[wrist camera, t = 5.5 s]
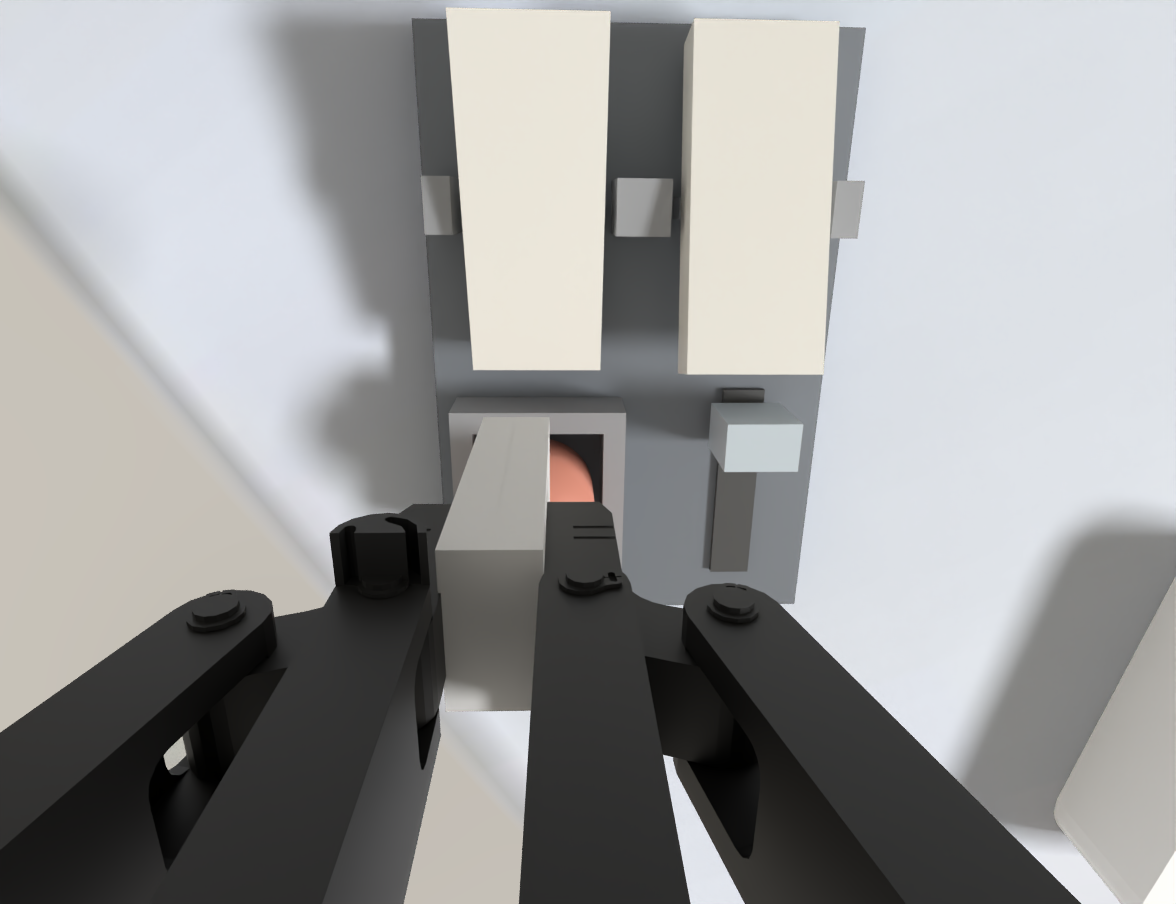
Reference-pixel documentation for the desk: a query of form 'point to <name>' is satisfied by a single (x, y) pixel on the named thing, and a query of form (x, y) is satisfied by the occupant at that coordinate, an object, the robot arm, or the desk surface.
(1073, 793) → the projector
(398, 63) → the desk surface
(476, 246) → the block
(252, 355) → the desk surface
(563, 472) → the button
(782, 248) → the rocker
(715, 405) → the block
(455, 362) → the panel
